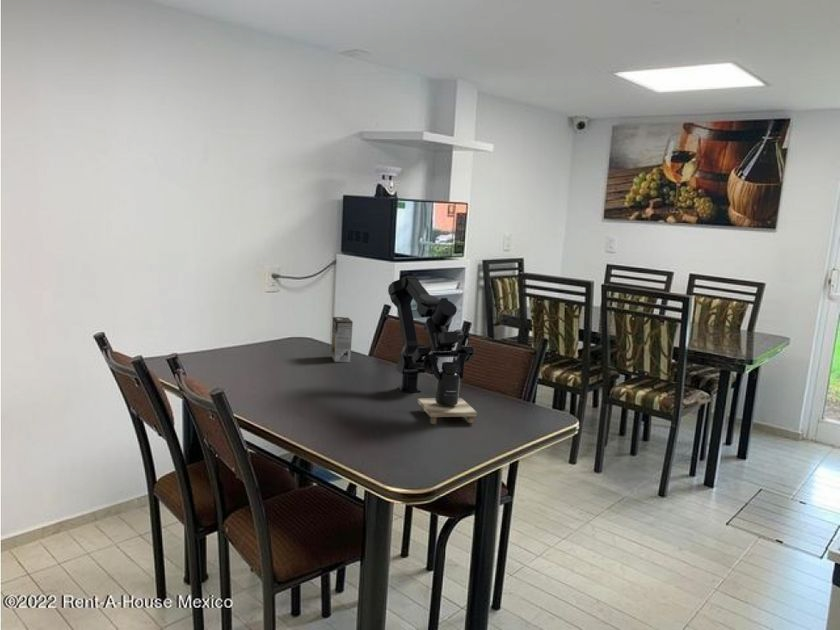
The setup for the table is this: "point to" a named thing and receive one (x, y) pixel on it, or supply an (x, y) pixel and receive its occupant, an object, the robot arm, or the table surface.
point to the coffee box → (341, 339)
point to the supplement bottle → (448, 385)
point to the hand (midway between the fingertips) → (450, 379)
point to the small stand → (446, 409)
